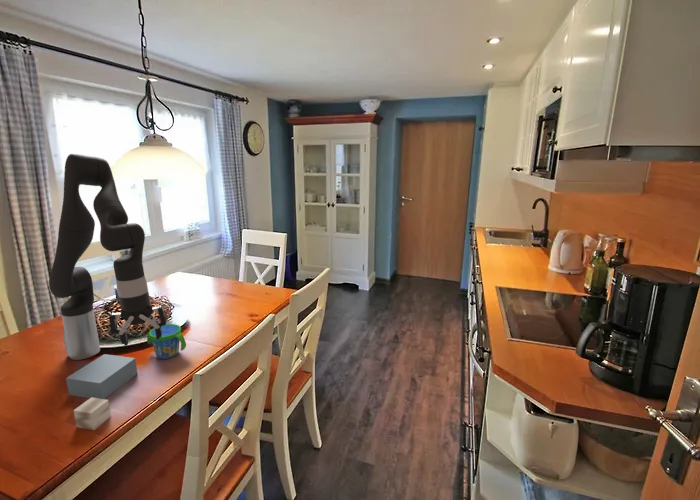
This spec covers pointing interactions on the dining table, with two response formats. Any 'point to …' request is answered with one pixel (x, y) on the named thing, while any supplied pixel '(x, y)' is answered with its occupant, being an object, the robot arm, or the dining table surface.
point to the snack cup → (167, 341)
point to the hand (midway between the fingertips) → (142, 341)
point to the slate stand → (101, 376)
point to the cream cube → (92, 413)
